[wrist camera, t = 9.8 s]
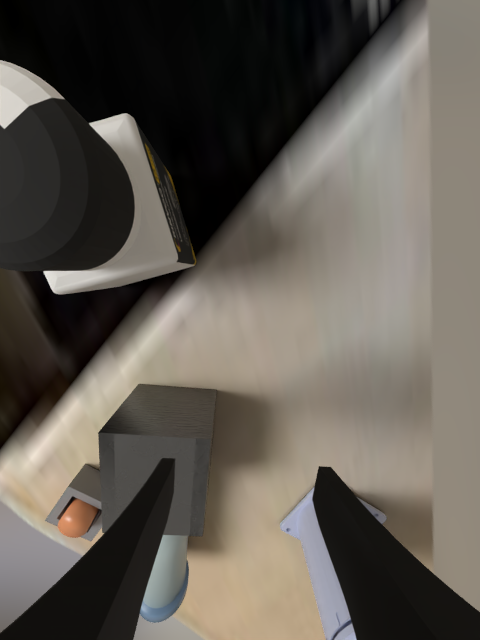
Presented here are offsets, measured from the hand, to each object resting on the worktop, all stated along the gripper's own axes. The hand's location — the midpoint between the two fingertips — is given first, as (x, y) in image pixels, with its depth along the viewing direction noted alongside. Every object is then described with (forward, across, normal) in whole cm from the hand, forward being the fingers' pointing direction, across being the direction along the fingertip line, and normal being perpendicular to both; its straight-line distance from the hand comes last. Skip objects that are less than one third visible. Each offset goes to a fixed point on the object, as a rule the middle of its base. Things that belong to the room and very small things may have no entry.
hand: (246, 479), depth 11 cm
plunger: (+10, +14, +14) cm, 22 cm away
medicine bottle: (+11, +9, -12) cm, 19 cm away
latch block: (+10, +14, +14) cm, 22 cm away
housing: (+10, +6, +6) cm, 13 cm away
